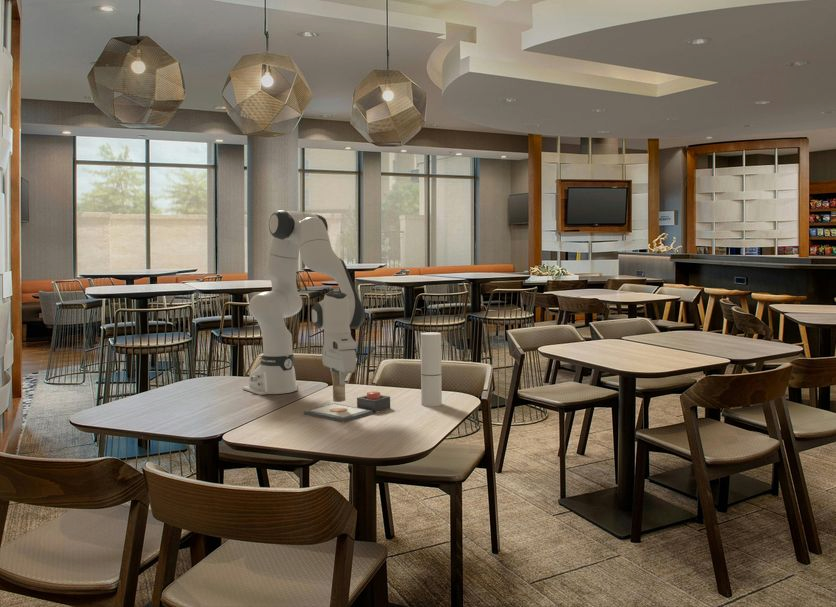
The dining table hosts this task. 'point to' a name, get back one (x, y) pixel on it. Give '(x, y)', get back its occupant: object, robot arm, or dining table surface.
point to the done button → (373, 395)
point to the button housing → (374, 403)
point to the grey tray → (338, 412)
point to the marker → (337, 387)
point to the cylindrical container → (431, 369)
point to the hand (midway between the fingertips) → (338, 382)
